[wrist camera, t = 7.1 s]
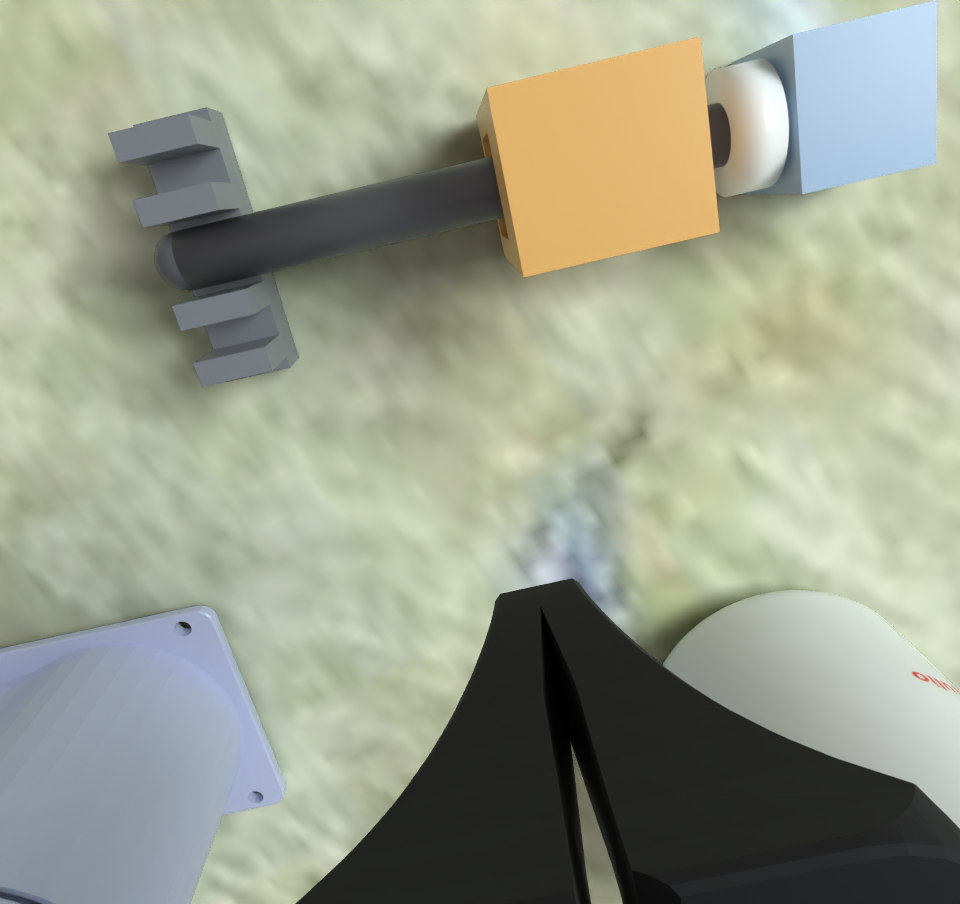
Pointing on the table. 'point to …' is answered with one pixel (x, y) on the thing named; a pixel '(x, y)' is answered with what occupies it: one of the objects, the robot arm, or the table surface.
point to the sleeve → (602, 158)
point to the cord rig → (473, 185)
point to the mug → (831, 685)
